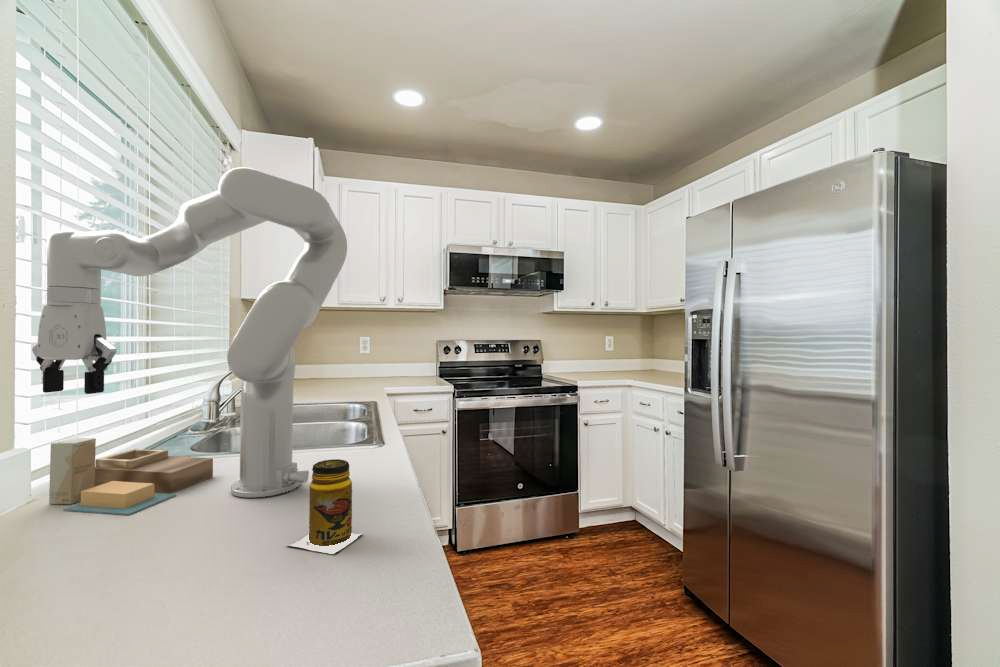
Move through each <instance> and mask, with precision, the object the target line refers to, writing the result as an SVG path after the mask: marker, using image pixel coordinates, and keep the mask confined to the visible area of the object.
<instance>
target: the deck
mask: <svg viewBox="0 0 1000 667" xmlns="http://www.w3.org/2000/svg"><path fill="white" fill-rule="evenodd" d="M213 475H214V458H213V457H198V456H197V457H195V456H180V455H179V456H176V455H174V456H173V455H169V450H168V449H167V450H166V449H165V450H163V449H146V448H145V449H144V448H134V449H130V450H126V451H122V452H119V453H115V454H110V455H107V456H103V457H100V458H95V487H96V486H99V485H102V484H105V483H108V482H111V481H120V482H137V483H153V484H154V493H166V494H174V493H176V492H178V491H180V490H183V489H185V488H189V487H190V486H193V485H196V484H198V483H201V482H203V481H205V480H209V479H211V478H213ZM210 477H211V478H210Z"/></svg>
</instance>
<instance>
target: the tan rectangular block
mask: <svg viewBox="0 0 1000 667" xmlns="http://www.w3.org/2000/svg"><path fill="white" fill-rule="evenodd" d="M154 493H155V492H154V484H153V483H137V482H120V481H111V482H108V483H105V484H102V485H99V486H96V487H93V488H89V489H86V490H83V491H81V501H80V503H81V505H84V506H98V507H112V508H127V507H130V506H132V505H135V504H137V503H140V502H143V501H145V500H148V499H150V498H153V497H154Z"/></svg>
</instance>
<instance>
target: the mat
mask: <svg viewBox="0 0 1000 667" xmlns="http://www.w3.org/2000/svg"><path fill="white" fill-rule="evenodd" d="M176 496H177V493H157V492H154V497H153V498H150V499H148V500H145V501H143V502H140V503H137V504H135V505H132V506H130V507H127V508H112V507H98V506H84V505H81V502H78V503H76V504H74V505H71V506H68V507H64V508H63V509H62V511H63V510H67V511H66V512H77V513H92V514H105V515H106V514H107V515H120V516H121V515H122V516H130V515H132V514H136V513H137V512H141V511H143V510H146V509H149V508H150V507H152V506H155V505H157V504H159V503H162V502H164V501H167V500H169V499H172V498H174V497H176Z"/></svg>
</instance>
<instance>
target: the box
mask: <svg viewBox="0 0 1000 667" xmlns="http://www.w3.org/2000/svg"><path fill="white" fill-rule="evenodd" d="M96 441H97V439H96V438H95V437H73V438H69V439H64V440H60V441H56V442H55V441H54V442H51V443H50V454H49V455H50V460H49V461H50V463H49V464H50V465H49V493H48V494H49V496H48V497H49V498H48V503H49V505H63V504H64V505H72V504H75V503H77V502H78V503H79V502H81V491H83V490H86V489H89V488H93V487H95V467H96V444H97V443H96Z"/></svg>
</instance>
